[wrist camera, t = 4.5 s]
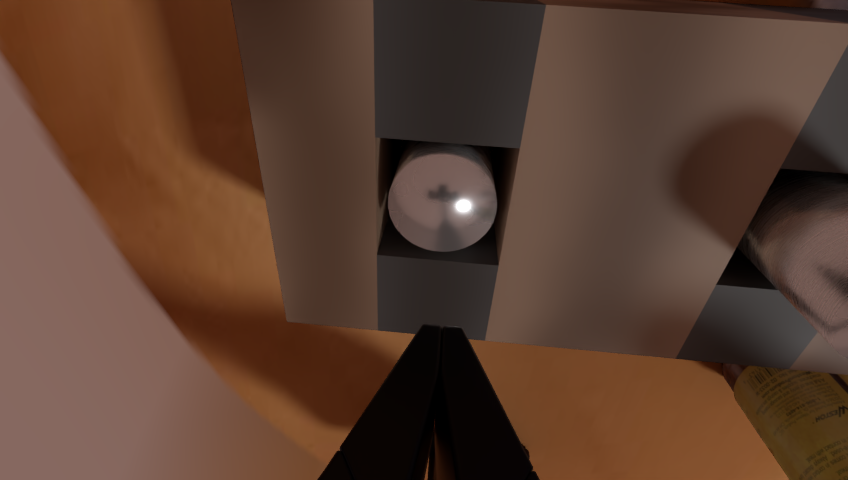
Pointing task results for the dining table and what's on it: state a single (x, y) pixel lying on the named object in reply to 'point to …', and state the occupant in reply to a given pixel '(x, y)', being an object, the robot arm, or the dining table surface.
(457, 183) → the peg
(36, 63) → the dining table surface
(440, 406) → the robot arm
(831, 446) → the sauce bottle
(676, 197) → the walnut block
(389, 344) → the dining table surface
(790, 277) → the peg
